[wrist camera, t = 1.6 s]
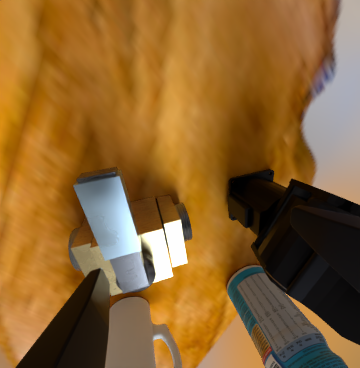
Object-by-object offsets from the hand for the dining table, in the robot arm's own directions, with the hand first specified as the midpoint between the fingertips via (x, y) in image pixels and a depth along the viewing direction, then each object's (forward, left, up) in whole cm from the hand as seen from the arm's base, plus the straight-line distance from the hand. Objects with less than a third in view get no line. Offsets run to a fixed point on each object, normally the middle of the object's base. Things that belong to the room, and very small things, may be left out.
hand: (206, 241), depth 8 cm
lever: (+5, +3, -6) cm, 8 cm away
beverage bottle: (-11, +25, -13) cm, 30 cm away
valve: (+5, +7, -13) cm, 15 cm away
